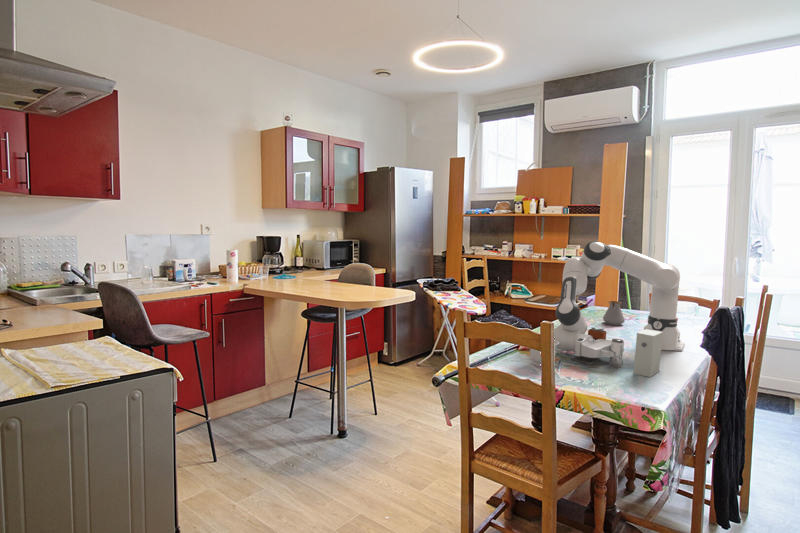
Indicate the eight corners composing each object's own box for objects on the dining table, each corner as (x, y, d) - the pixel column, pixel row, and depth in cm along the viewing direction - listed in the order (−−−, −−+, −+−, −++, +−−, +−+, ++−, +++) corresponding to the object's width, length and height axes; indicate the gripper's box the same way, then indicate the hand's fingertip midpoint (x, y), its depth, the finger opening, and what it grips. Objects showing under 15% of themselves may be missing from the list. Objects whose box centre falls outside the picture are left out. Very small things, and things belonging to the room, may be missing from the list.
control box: (643, 367, 187) (646, 328, 185) (659, 371, 183) (663, 331, 181) (633, 373, 180) (636, 333, 178) (649, 377, 175) (653, 336, 174)
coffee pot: (603, 320, 275) (605, 295, 273) (625, 323, 269) (627, 298, 268) (599, 327, 256) (601, 301, 255) (622, 330, 251) (624, 303, 249)
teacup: (555, 359, 194) (556, 336, 193) (559, 371, 180) (560, 345, 179) (525, 357, 197) (526, 334, 196) (526, 367, 183) (528, 343, 182)
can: (612, 363, 191) (614, 337, 190) (623, 366, 188) (626, 340, 186) (607, 366, 188) (609, 339, 187) (618, 369, 185) (621, 342, 183)
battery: (601, 352, 208) (603, 330, 207) (586, 349, 212) (588, 327, 211) (605, 350, 211) (607, 329, 210) (590, 347, 216) (592, 326, 214)
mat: (581, 355, 202) (581, 354, 202) (600, 359, 196) (600, 358, 196) (570, 359, 195) (570, 358, 195) (589, 364, 189) (589, 363, 189)
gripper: (595, 348, 204) (628, 355, 194) (573, 356, 190) (607, 365, 180) (596, 333, 203) (629, 340, 193) (574, 341, 189) (608, 349, 179)
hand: (618, 352), depth 187 cm, fingers open, 8 cm apart
